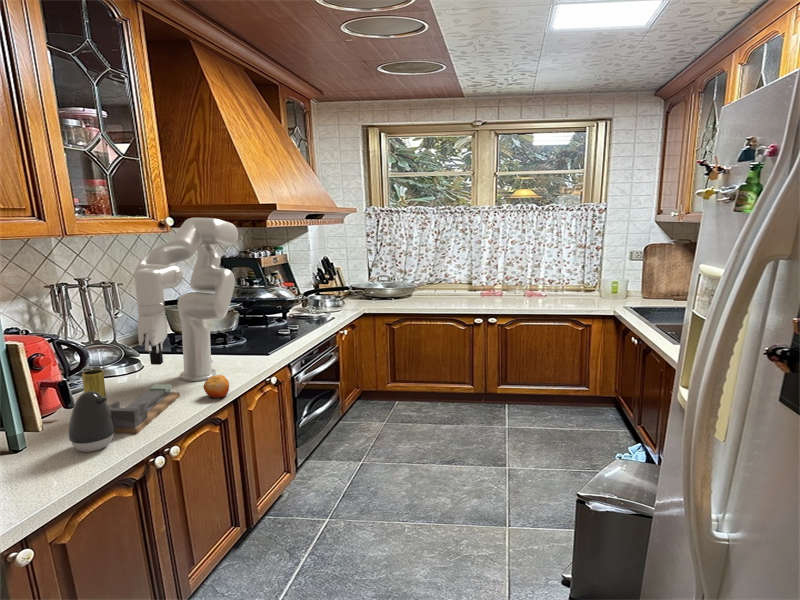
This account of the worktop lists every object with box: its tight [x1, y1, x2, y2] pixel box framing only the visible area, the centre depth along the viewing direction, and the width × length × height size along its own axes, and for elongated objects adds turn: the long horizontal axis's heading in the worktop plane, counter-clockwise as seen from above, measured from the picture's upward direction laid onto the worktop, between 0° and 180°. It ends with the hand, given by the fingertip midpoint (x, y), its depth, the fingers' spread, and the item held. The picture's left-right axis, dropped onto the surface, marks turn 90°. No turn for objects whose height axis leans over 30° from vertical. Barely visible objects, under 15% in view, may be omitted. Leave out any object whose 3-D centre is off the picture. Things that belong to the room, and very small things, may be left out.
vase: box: [81, 368, 108, 404], centre depth 143 cm, size 6×6×14 cm
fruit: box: [203, 374, 230, 399], centre depth 164 cm, size 8×8×8 cm
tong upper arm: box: [124, 383, 172, 408], centre depth 150 cm, size 23×6×2 cm, turn 1°
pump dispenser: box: [68, 391, 115, 453], centre depth 126 cm, size 10×10×15 cm
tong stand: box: [108, 389, 181, 435], centre depth 148 cm, size 28×10×6 cm, turn 1°
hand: (157, 363), depth 156 cm, fingers closed
